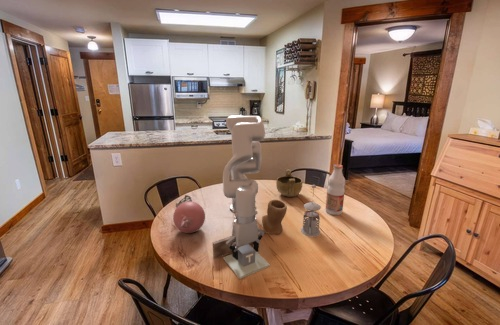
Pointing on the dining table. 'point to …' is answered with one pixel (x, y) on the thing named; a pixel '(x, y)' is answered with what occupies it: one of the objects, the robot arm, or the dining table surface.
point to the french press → (311, 219)
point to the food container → (184, 200)
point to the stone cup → (274, 217)
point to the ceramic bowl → (289, 185)
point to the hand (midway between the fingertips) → (245, 254)
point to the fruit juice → (335, 191)
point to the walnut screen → (222, 247)
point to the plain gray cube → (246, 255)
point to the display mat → (246, 270)
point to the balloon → (189, 217)
